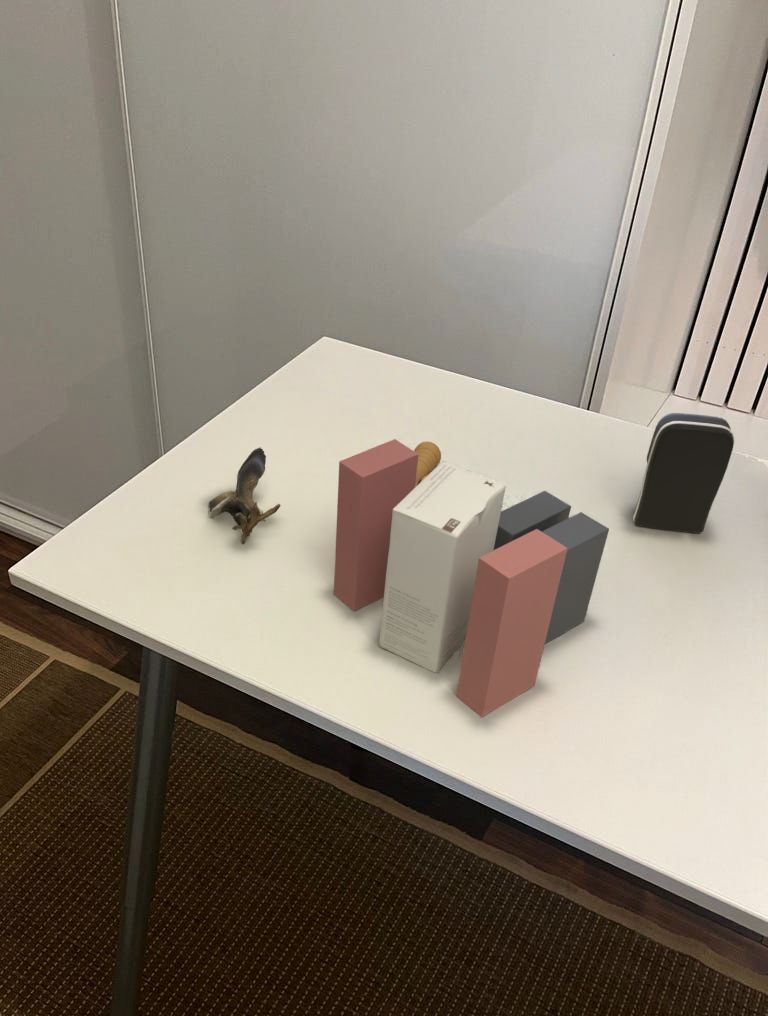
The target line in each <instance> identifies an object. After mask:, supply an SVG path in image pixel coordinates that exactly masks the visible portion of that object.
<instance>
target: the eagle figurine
mask: <svg viewBox="0 0 768 1016" xmlns="http://www.w3.org/2000/svg"><path fill="white" fill-rule="evenodd" d="M266 458H267V455H266V454H265V451H264V449H263V448H262V447H261V446H259V447H257V448H255V449H254V450H252V451H251V452H250V454H249V455H248V456H247V457H246V459H245V460H244V461H243V463H242V465H241V466H240V468H239V469H238V472H237V475H236V487H235V490H229V491H224V492H222V493H220V494H219V495H217V496H215V497H214V498H212V499H211V500H210V501H208V507H209V518H210V519H215V518H217V517H219V516H220V515H222V514H224V513H228V514H229V515H230V517H232V518H233V521H234V523H236V524H235V525H234V526H231V529H232V530H233V531H237V530H241V540H240V543H241V544H242V545H244V544H245V543H246V540H247V539H248V537H250V536H251V533H252V532H253V530H254V528H256V526H258V524H259V523H260V522H262V521H267V519H266V518H269V517H270V516H272V515H274V514H276V513H277V512H278V510H279V509H280V507H281V504H280V503H277V504H276V505H275V506H274V507H271V508H270V509H268V510H266V511H265V512H264V511H263V510H262V508H261V509H260V507H258V502H257V501H254V499H253V498H254V497H253V496H254V495H253V493H254V490H255V488H256V487H257V486H258V484H259V481H260V479H262V477H263V476H264V473H265V472H266V463H267V461H266V460H267V459H266Z"/></svg>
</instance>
